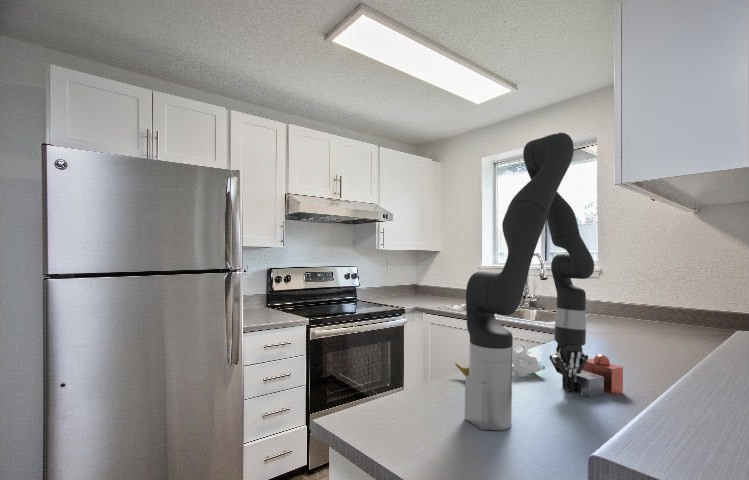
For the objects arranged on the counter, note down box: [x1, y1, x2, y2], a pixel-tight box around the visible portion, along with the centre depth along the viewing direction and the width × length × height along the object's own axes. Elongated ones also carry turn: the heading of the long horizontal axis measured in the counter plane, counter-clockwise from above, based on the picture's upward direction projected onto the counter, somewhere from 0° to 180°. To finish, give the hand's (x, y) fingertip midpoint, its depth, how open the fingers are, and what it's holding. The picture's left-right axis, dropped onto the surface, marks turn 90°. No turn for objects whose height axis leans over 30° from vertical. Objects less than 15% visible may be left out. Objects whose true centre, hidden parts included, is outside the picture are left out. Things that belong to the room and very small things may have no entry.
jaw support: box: [512, 342, 546, 378], centre depth 117 cm, size 12×9×10 cm
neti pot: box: [454, 362, 469, 377], centre depth 107 cm, size 4×15×6 cm, turn 44°
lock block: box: [561, 368, 605, 399], centre depth 102 cm, size 6×8×5 cm
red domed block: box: [578, 354, 624, 396], centre depth 104 cm, size 11×9×10 cm
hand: (568, 389), depth 100 cm, fingers closed
